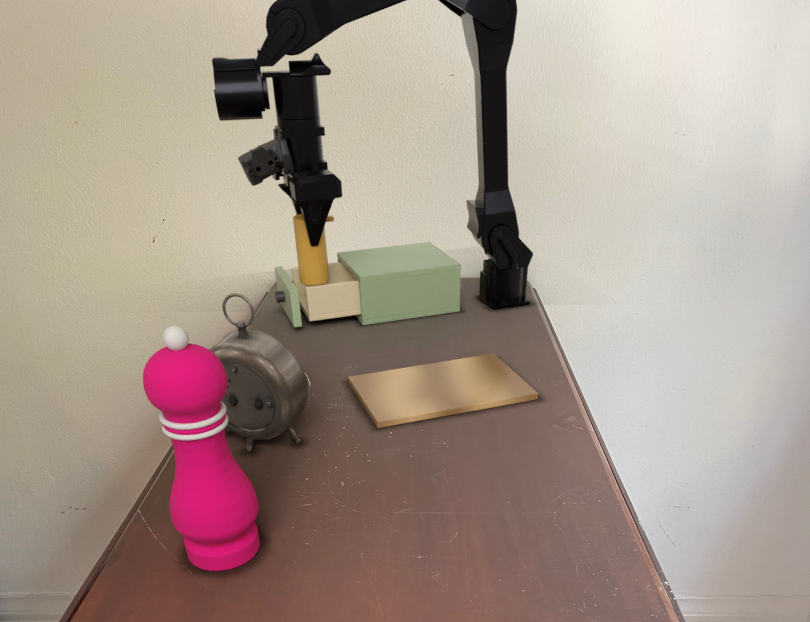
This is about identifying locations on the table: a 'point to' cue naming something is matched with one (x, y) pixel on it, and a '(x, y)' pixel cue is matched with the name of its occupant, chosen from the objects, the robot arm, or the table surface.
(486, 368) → the board
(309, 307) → the drawer
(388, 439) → the table surface
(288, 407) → the alarm clock
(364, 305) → the cabinet
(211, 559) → the pepper mill
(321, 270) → the yellow cylinder
